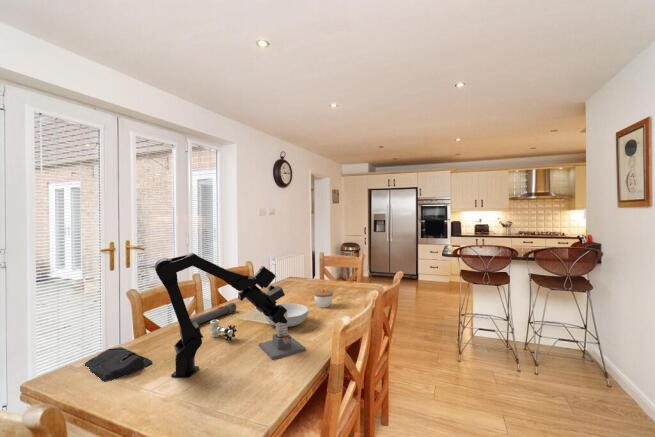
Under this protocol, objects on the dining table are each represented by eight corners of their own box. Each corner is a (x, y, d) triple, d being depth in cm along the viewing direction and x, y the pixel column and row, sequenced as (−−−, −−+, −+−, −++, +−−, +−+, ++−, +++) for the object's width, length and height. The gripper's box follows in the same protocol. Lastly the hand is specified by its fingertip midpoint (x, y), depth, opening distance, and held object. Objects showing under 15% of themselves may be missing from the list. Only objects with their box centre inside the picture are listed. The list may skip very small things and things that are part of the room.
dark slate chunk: (127, 350, 124) (127, 338, 124) (155, 365, 111) (155, 352, 111) (80, 366, 112) (79, 352, 112) (105, 385, 99) (105, 370, 99)
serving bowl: (256, 329, 144) (256, 314, 144) (275, 315, 164) (275, 302, 164) (300, 333, 139) (300, 318, 139) (313, 318, 159) (313, 304, 159)
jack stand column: (279, 339, 122) (279, 310, 121) (275, 336, 125) (275, 308, 124) (287, 337, 124) (287, 308, 123) (283, 334, 127) (283, 306, 126)
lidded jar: (311, 304, 182) (311, 288, 181) (328, 302, 186) (328, 286, 186) (318, 310, 172) (318, 293, 172) (336, 307, 176) (336, 290, 176)
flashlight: (186, 327, 148) (186, 317, 148) (230, 310, 173) (229, 301, 172) (193, 329, 145) (193, 318, 145) (236, 312, 170) (236, 302, 170)
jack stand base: (271, 359, 115) (271, 345, 114) (258, 345, 126) (258, 332, 126) (305, 350, 122) (305, 337, 122) (290, 338, 134) (290, 325, 134)
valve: (205, 337, 135) (224, 343, 129) (205, 322, 135) (224, 327, 129) (217, 332, 141) (236, 337, 135) (217, 317, 141) (236, 322, 135)
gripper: (281, 285, 114) (308, 310, 120) (263, 276, 129) (287, 299, 136) (260, 310, 110) (289, 335, 116) (244, 298, 125) (270, 320, 131)
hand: (284, 321), depth 125 cm, fingers closed on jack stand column, 4 cm apart
